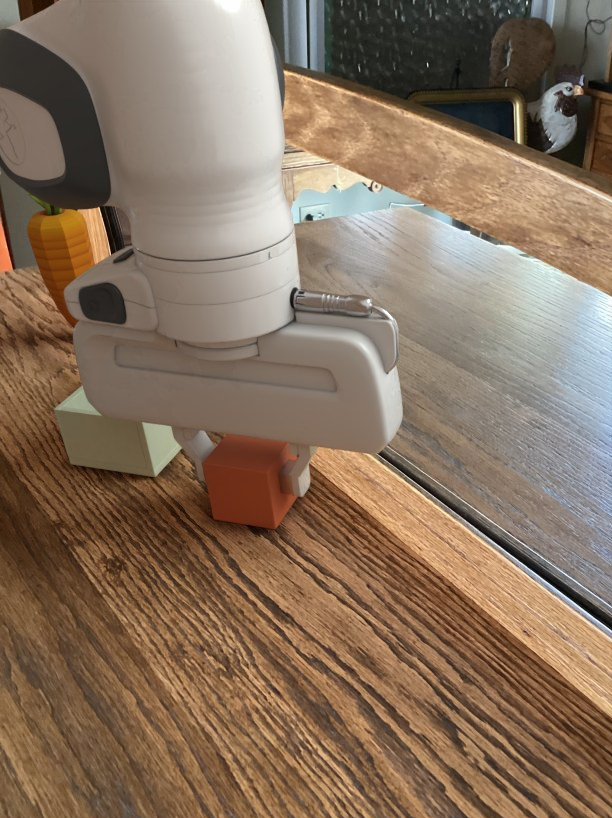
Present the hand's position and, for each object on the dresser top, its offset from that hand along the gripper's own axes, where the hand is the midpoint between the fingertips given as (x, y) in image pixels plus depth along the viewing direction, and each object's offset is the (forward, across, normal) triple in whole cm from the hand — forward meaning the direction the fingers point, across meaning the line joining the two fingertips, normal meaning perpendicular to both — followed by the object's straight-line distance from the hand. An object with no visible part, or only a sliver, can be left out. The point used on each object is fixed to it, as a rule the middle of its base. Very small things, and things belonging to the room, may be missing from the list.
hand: (254, 484), depth 59 cm
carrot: (+2, +26, -20) cm, 34 cm away
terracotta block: (+2, 0, 0) cm, 2 cm away
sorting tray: (+2, +12, -8) cm, 15 cm away
